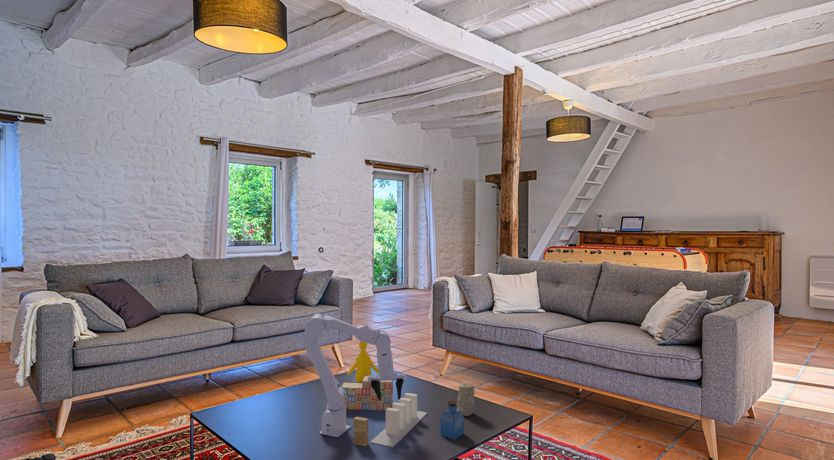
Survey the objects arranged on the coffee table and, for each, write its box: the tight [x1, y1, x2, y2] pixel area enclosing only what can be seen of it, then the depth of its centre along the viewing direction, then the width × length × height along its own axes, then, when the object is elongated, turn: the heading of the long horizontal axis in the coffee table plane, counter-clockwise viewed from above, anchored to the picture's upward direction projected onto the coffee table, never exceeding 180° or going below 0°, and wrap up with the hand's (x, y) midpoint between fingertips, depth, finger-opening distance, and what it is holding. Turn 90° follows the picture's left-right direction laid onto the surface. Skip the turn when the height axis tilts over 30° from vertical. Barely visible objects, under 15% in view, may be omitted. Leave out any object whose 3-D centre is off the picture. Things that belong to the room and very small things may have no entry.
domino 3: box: [398, 397, 412, 424], centre depth 186 cm, size 2×5×9 cm, turn 67°
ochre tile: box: [353, 416, 369, 447], centre depth 169 cm, size 2×5×9 cm, turn 67°
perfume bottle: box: [439, 400, 465, 440], centre depth 176 cm, size 6×6×12 cm
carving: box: [456, 382, 475, 417], centre depth 195 cm, size 6×8×12 cm
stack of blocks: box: [341, 376, 394, 412], centre depth 202 cm, size 21×6×12 cm, turn 86°
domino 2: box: [392, 401, 406, 430], centre depth 181 cm, size 2×5×9 cm, turn 67°
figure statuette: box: [346, 341, 379, 383], centre depth 233 cm, size 18×8×22 cm, turn 85°
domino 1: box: [385, 408, 400, 436], centre depth 176 cm, size 2×5×9 cm, turn 67°
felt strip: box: [369, 410, 428, 448], centre depth 182 cm, size 32×9×1 cm, turn 157°
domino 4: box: [403, 392, 418, 419], centre depth 191 cm, size 2×5×9 cm, turn 67°
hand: (389, 399), depth 181 cm, fingers open, 7 cm apart
